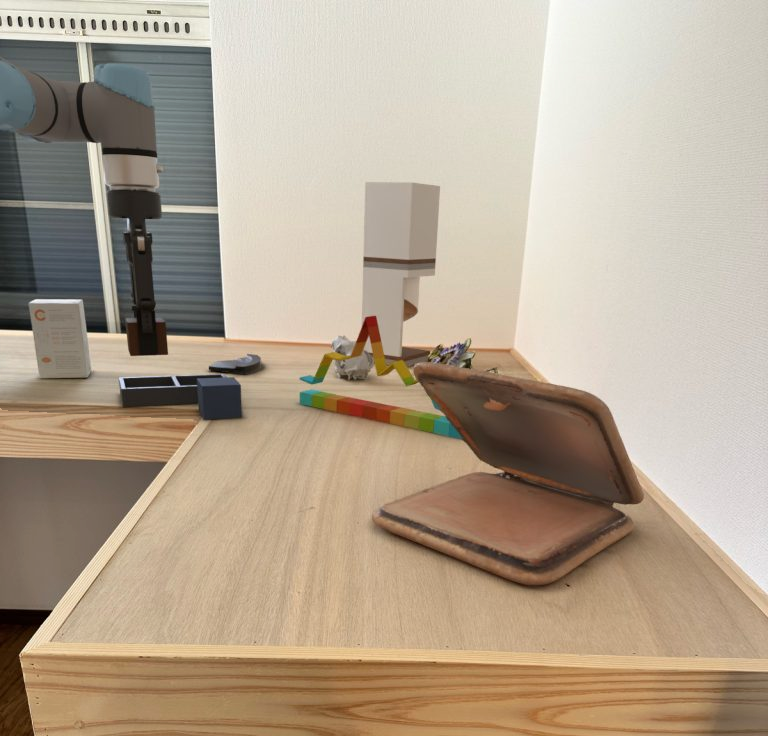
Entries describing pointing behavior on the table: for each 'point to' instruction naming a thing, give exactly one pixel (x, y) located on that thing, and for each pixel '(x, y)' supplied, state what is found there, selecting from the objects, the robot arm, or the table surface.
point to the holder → (161, 389)
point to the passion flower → (455, 355)
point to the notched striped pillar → (397, 259)
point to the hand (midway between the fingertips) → (147, 350)
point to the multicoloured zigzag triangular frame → (367, 407)
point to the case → (521, 477)
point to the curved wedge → (238, 365)
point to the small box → (60, 338)
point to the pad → (219, 398)
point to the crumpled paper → (351, 359)
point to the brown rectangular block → (133, 336)
